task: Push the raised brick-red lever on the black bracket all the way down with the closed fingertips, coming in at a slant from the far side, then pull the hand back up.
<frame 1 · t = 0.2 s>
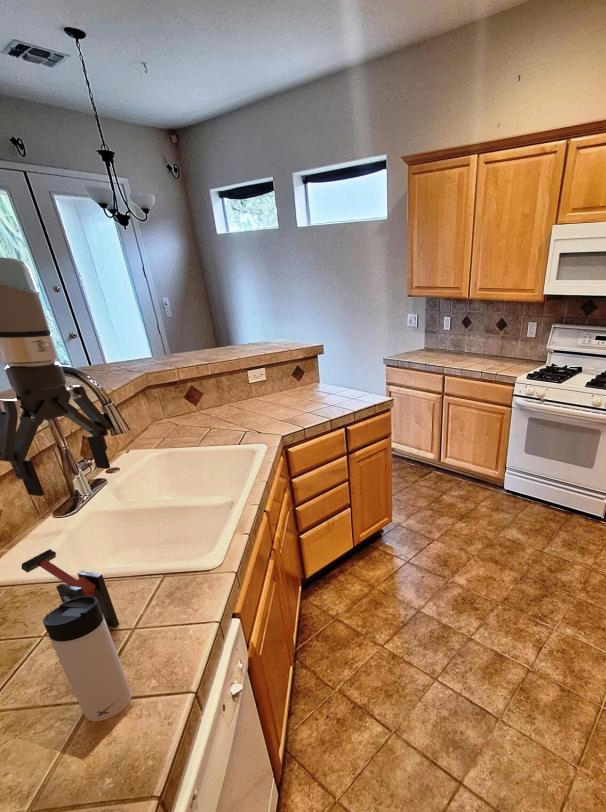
hand: (72, 480, 81), 26 cm above the counter, tool pointing down, fingers open, 13 cm apart
travel mug: (112, 710, 66), on the counter
bracket: (100, 636, 80), on the counter
lever: (62, 575, 75), point 13 cm above the counter, hinge at 30.0°
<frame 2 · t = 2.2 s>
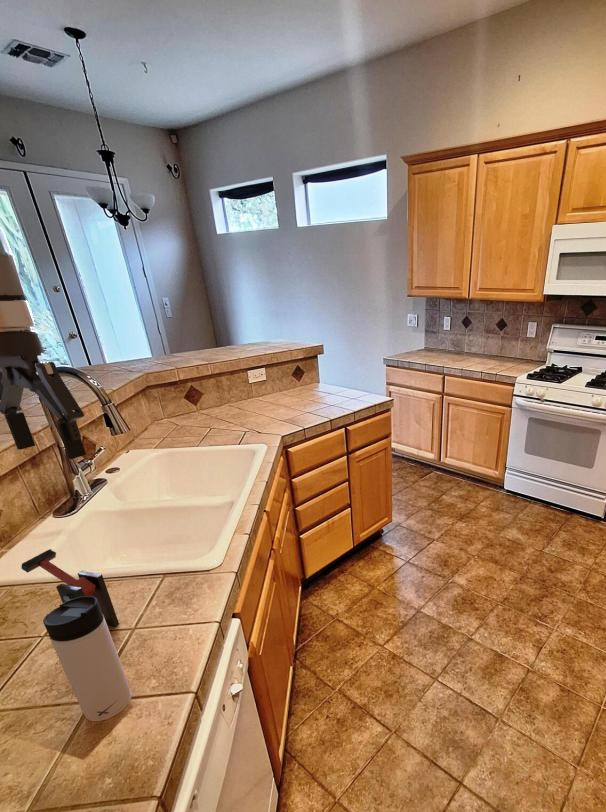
hand: (51, 452, 80), 31 cm above the counter, tool pointing down, fingers open, 13 cm apart
nothing on the counter moved.
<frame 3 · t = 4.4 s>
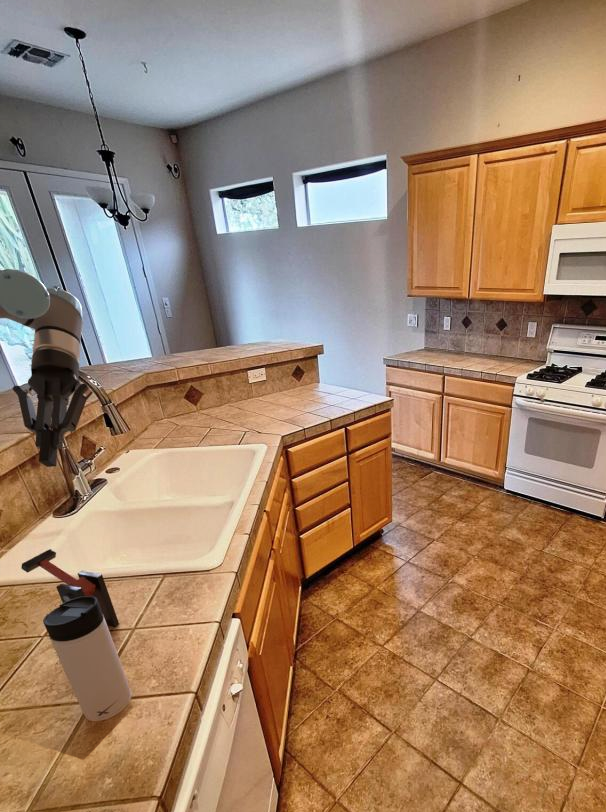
hand: (47, 463, 80), 29 cm above the counter, tool tilted 45°, fingers closed
nothing on the counter moved.
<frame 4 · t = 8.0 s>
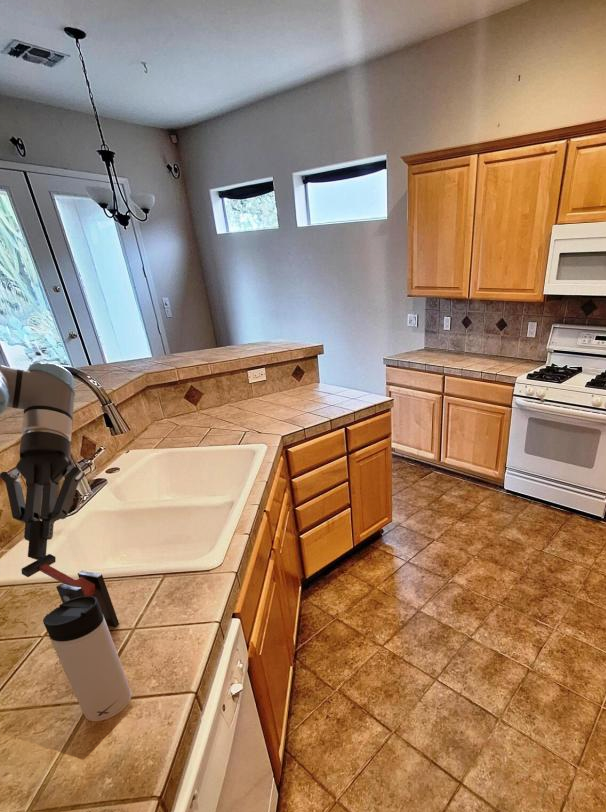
hand: (36, 557, 76), 15 cm above the counter, tool tilted 45°, fingers closed
lever: (62, 577, 75), point 13 cm above the counter, hinge at 22.2°, touching gripper
everything else where it was.
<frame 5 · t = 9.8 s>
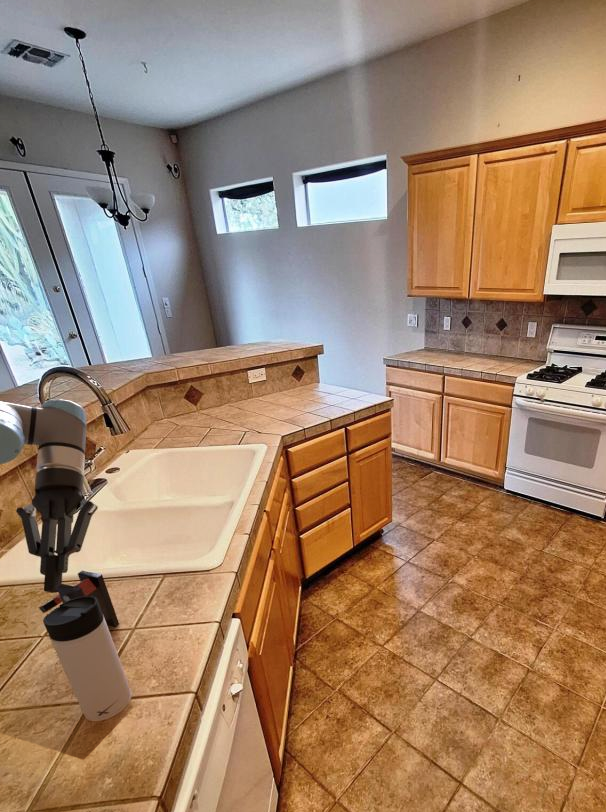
hand: (52, 591, 78), 8 cm above the counter, tool tilted 45°, fingers closed
lever: (70, 594, 77), point 9 cm above the counter, hinge at -29.4°, touching gripper
everything else where it was.
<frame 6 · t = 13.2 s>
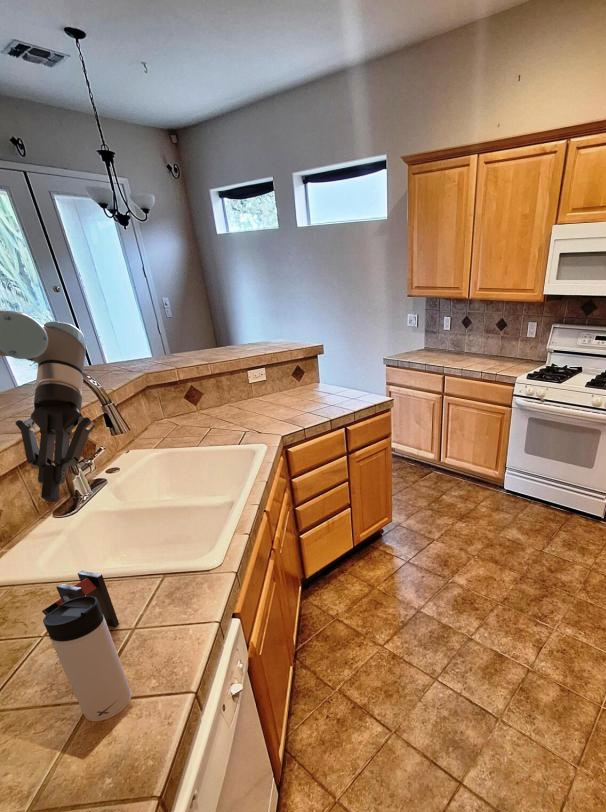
hand: (49, 499, 80), 23 cm above the counter, tool tilted 45°, fingers closed
lever: (71, 596, 77), point 9 cm above the counter, hinge at -34.1°
everything else where it was.
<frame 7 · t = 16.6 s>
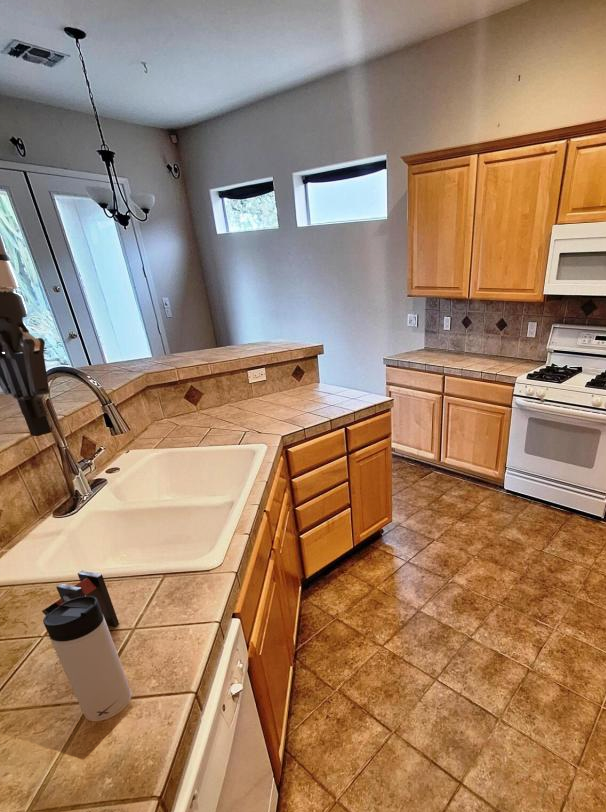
hand: (41, 433, 79), 34 cm above the counter, tool pointing down, fingers closed
nothing on the counter moved.
at the end: lever at -34° (first picture: +30°); travel mug moved 0.2 cm from its start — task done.
